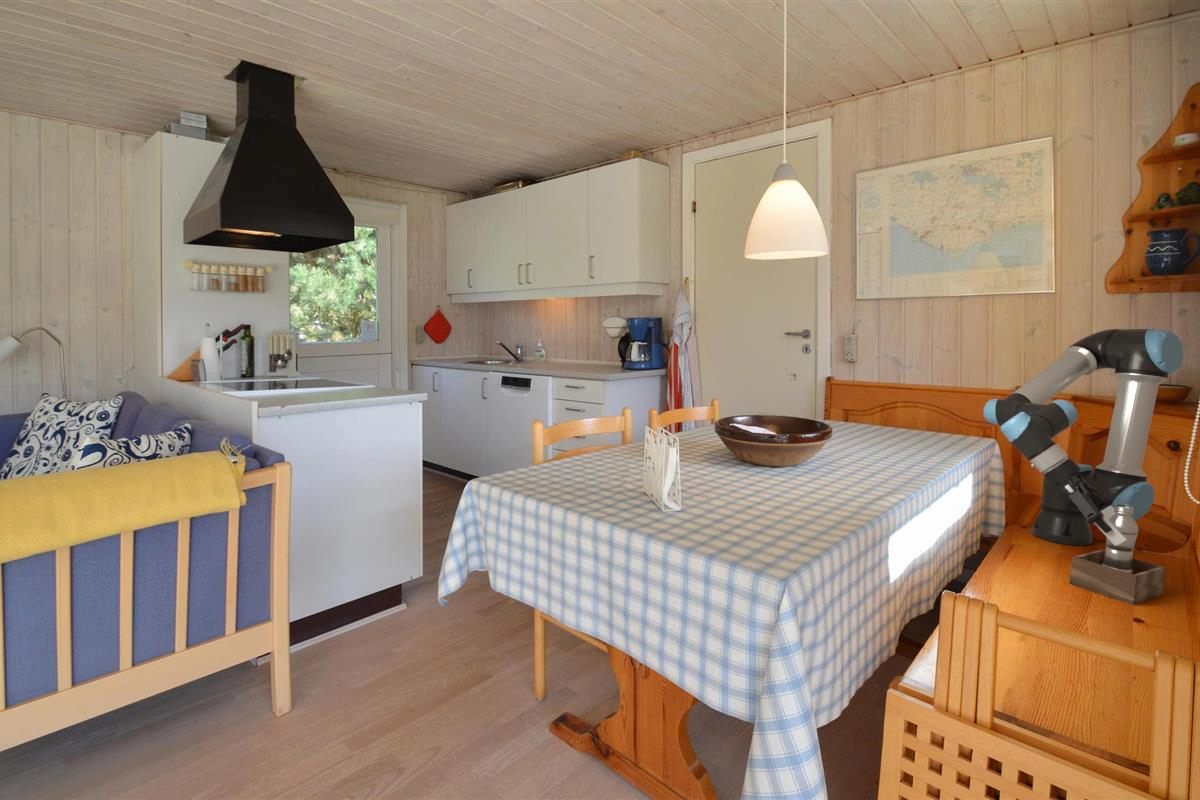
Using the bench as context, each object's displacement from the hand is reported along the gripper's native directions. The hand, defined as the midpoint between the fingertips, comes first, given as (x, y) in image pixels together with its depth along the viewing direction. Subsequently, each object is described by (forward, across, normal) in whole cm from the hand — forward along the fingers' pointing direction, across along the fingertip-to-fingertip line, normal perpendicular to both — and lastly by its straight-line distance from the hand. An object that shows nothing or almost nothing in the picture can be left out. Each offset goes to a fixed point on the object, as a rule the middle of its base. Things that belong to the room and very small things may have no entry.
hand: (1124, 536), depth 156 cm
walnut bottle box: (+9, 0, -10) cm, 14 cm away
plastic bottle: (+9, -1, -10) cm, 13 cm away
